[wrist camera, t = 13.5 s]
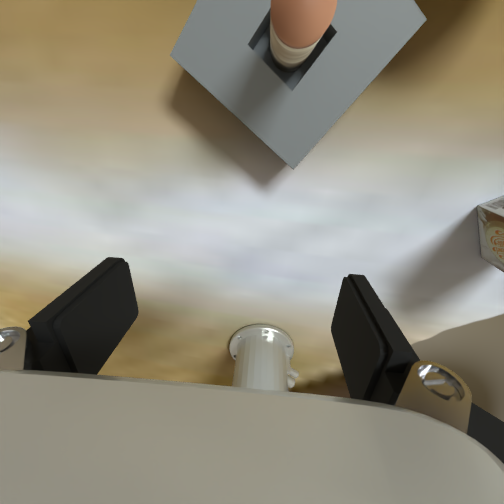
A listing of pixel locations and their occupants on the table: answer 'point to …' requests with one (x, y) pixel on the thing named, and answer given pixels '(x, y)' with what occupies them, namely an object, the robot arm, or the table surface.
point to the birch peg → (297, 30)
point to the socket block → (297, 82)
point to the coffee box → (492, 231)
